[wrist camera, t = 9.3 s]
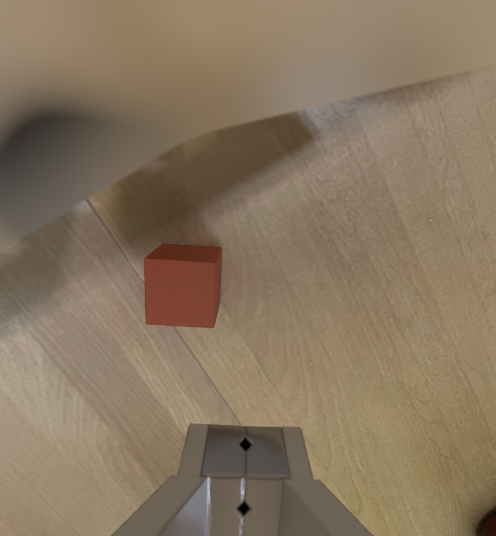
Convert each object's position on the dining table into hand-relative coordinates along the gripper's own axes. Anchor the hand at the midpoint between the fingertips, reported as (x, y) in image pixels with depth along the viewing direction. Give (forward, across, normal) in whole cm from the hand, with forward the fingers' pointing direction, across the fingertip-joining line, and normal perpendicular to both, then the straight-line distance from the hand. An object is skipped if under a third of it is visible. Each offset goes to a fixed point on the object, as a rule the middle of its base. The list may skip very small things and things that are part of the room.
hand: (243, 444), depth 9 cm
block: (+17, +4, 0) cm, 17 cm away
